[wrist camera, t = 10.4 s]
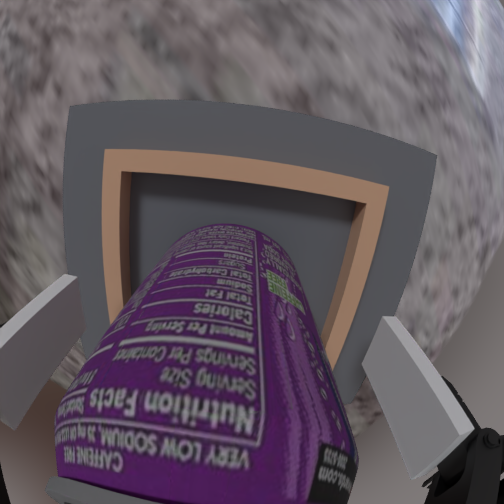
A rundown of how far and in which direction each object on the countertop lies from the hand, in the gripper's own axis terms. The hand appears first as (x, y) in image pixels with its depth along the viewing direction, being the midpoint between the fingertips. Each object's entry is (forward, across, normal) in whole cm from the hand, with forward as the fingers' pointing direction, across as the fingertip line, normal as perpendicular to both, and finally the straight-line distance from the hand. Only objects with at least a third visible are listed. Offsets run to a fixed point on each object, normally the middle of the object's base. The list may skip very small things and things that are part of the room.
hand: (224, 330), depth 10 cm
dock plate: (+5, 0, 0) cm, 5 cm away
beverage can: (+4, 0, 0) cm, 4 cm away
